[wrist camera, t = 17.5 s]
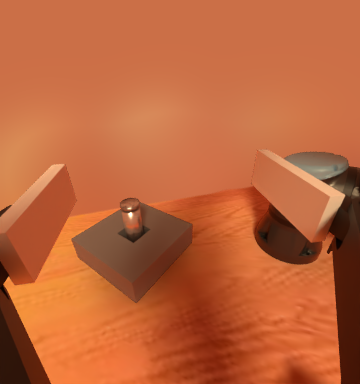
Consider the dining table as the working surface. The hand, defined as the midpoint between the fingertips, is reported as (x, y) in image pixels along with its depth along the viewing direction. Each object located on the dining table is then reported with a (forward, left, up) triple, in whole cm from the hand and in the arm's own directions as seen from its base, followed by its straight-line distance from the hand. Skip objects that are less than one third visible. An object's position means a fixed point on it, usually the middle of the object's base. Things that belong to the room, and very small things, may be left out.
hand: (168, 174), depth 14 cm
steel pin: (-14, -22, -32) cm, 41 cm away
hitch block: (-14, -22, -32) cm, 41 cm away
